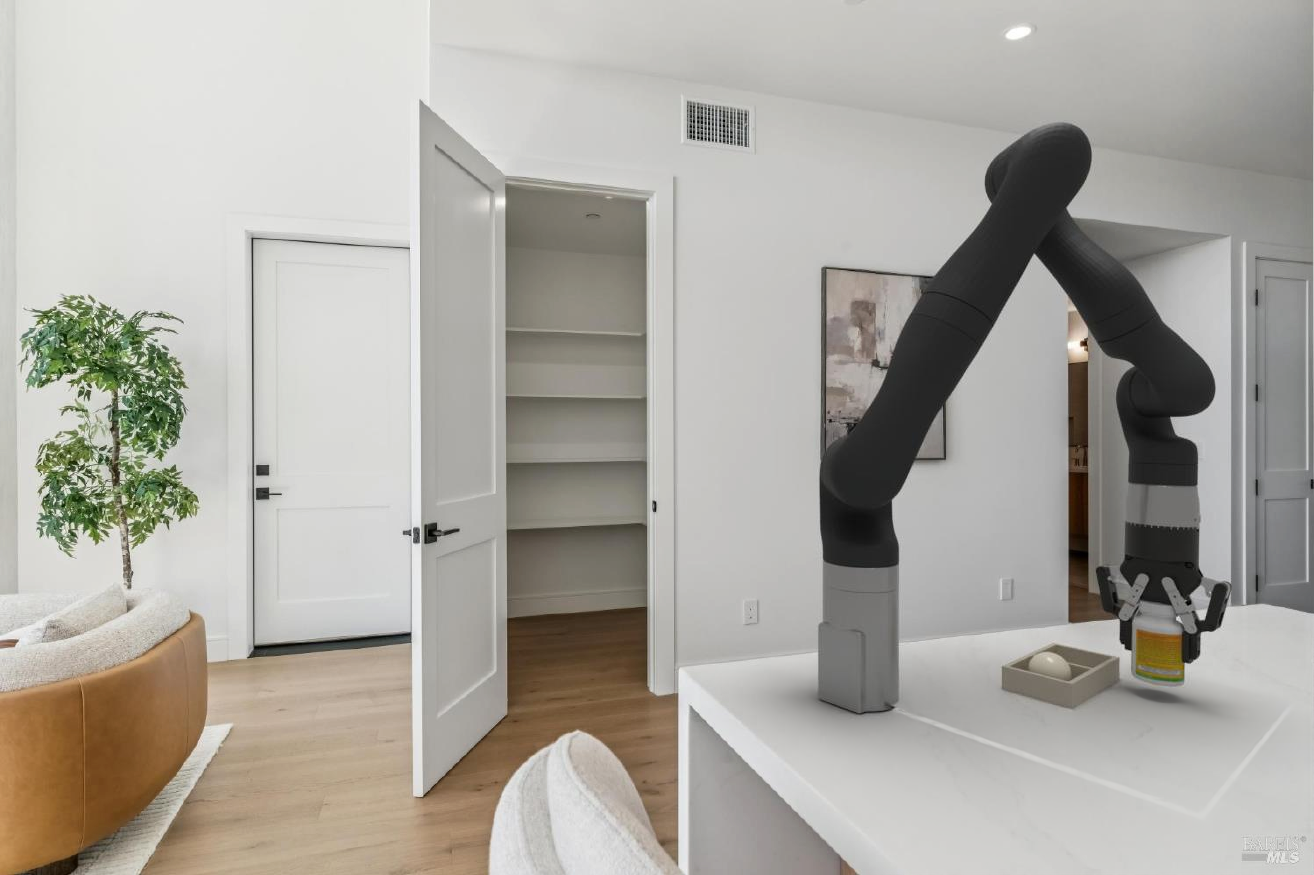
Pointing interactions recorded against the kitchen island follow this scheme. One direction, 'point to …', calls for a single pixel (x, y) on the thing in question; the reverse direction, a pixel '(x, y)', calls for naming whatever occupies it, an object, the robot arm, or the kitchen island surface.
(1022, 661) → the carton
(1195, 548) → the robot arm
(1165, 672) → the supplement bottle
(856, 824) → the kitchen island surface
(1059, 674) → the egg
